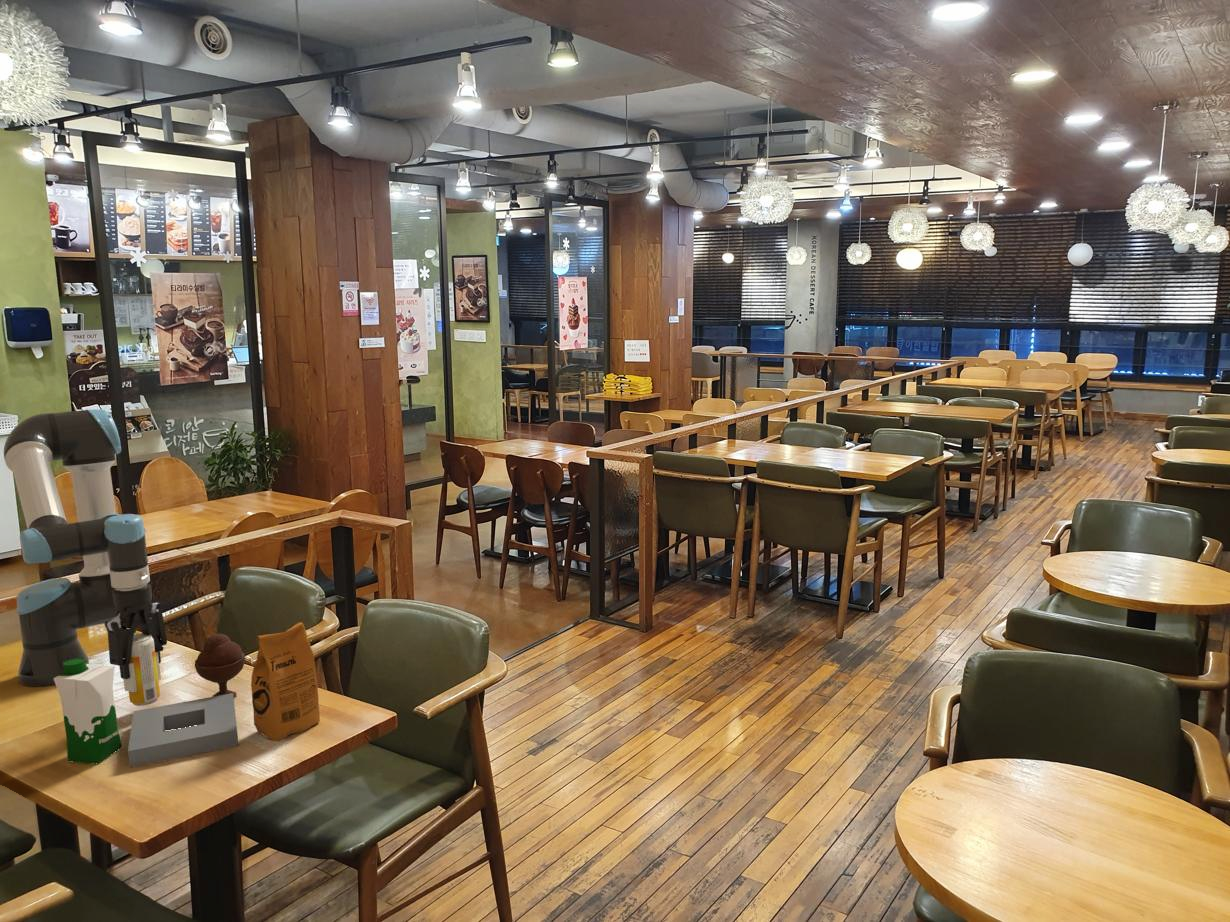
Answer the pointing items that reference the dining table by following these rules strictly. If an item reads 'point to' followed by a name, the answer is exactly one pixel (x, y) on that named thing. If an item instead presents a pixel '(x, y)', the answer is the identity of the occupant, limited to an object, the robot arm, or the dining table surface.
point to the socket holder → (182, 729)
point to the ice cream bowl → (220, 662)
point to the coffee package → (284, 684)
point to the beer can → (144, 670)
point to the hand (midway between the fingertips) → (143, 684)
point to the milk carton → (88, 710)
